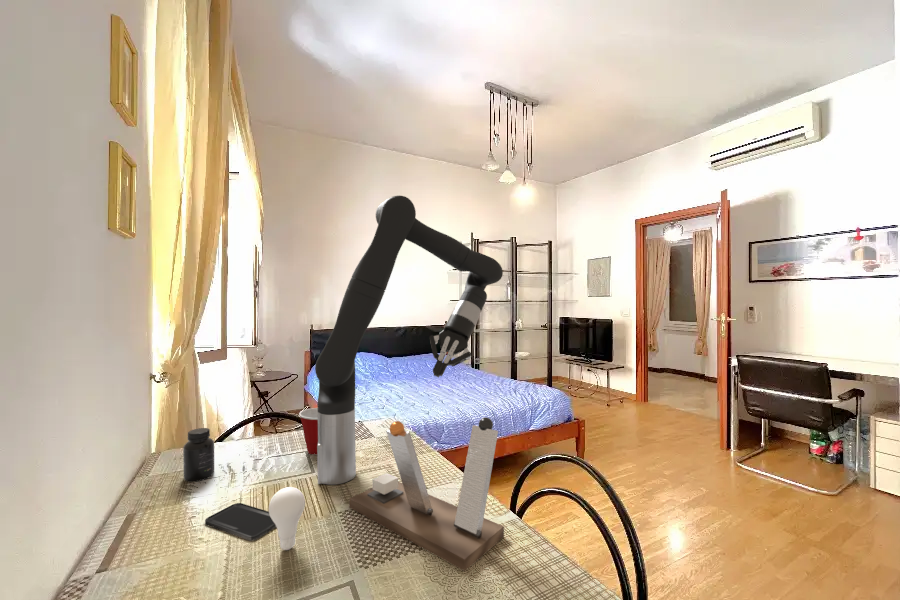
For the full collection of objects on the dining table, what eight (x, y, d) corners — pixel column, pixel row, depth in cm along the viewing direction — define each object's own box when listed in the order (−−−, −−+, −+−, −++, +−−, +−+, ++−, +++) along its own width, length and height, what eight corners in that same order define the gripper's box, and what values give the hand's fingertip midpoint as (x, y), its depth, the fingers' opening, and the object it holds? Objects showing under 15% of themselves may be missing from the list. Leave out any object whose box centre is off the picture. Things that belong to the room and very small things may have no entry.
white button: (386, 486, 89) (386, 472, 89) (398, 491, 86) (398, 477, 86) (372, 492, 86) (372, 479, 86) (384, 498, 83) (384, 484, 83)
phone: (237, 502, 86) (286, 516, 80) (237, 507, 86) (286, 522, 80) (202, 520, 79) (252, 538, 73) (202, 525, 79) (252, 544, 73)
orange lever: (416, 500, 82) (390, 415, 77) (436, 509, 78) (410, 421, 73) (407, 510, 80) (380, 423, 75) (427, 519, 76) (399, 429, 71)
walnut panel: (391, 486, 94) (391, 477, 94) (504, 536, 73) (503, 524, 73) (349, 507, 85) (349, 496, 85) (464, 571, 64) (464, 556, 64)
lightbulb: (292, 562, 67) (291, 498, 67) (261, 558, 68) (260, 495, 68) (312, 540, 73) (311, 482, 73) (283, 537, 74) (282, 479, 74)
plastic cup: (330, 458, 112) (329, 416, 112) (293, 458, 112) (292, 416, 112) (341, 444, 123) (341, 406, 123) (307, 444, 123) (307, 406, 123)
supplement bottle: (177, 480, 100) (176, 433, 100) (202, 469, 106) (202, 425, 106) (195, 484, 97) (194, 436, 97) (220, 473, 103) (220, 427, 103)
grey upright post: (459, 526, 74) (479, 415, 79) (483, 537, 70) (502, 420, 76) (450, 527, 72) (471, 414, 77) (474, 539, 68) (495, 419, 74)
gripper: (441, 305, 106) (412, 361, 100) (485, 324, 104) (459, 383, 97) (442, 316, 113) (415, 369, 107) (483, 334, 111) (458, 389, 104)
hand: (436, 375), depth 102 cm, fingers closed
